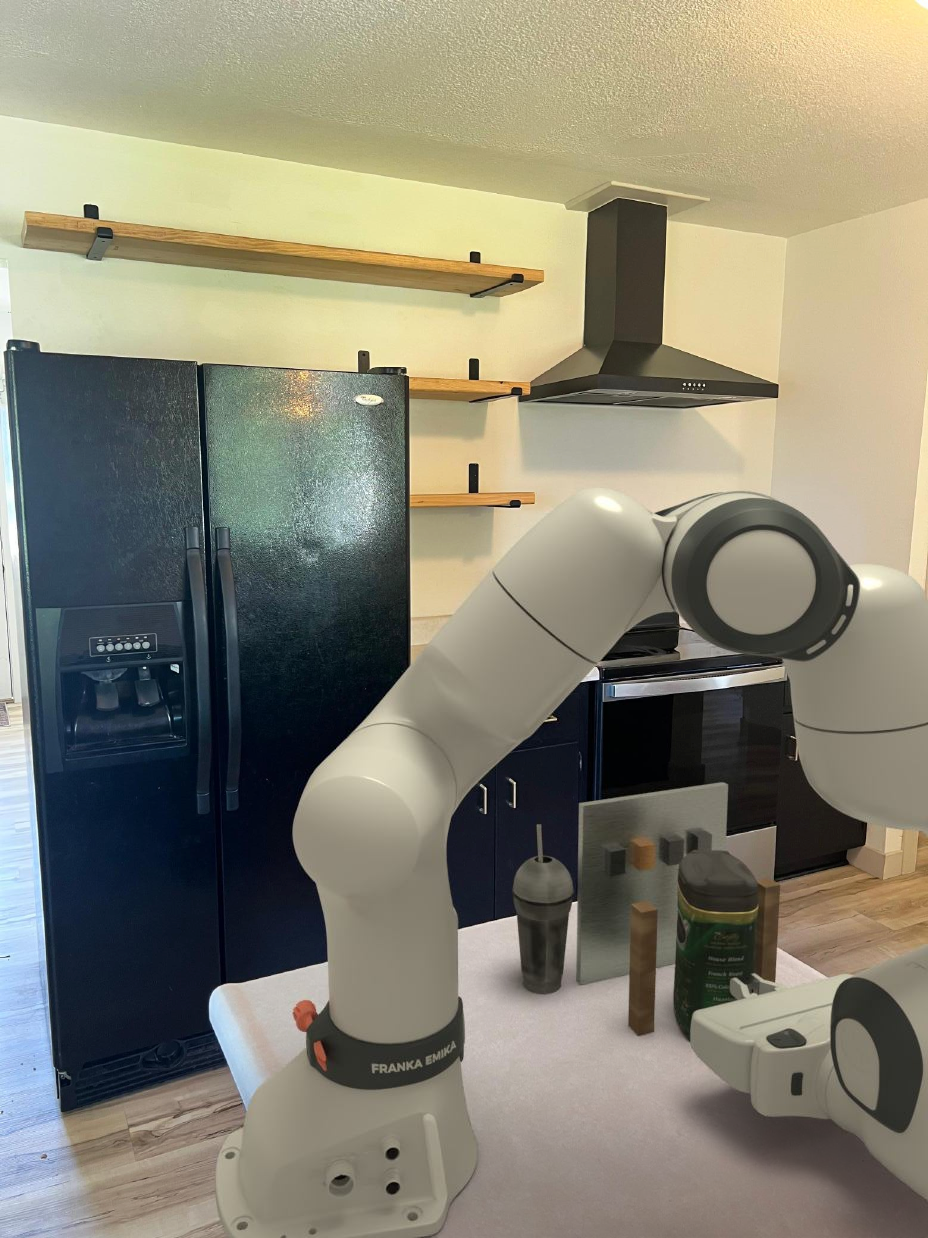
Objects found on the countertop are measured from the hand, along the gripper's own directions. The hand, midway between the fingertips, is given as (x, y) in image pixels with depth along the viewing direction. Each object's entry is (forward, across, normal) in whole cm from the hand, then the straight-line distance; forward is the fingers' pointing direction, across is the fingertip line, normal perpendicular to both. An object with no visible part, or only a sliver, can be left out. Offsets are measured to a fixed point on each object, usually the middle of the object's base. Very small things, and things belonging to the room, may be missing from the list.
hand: (741, 982), depth 93 cm
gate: (+6, 0, +7) cm, 9 cm away
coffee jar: (+4, 0, +7) cm, 9 cm away
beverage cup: (+18, +14, +7) cm, 24 cm away
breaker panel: (+17, 0, +7) cm, 18 cm away
